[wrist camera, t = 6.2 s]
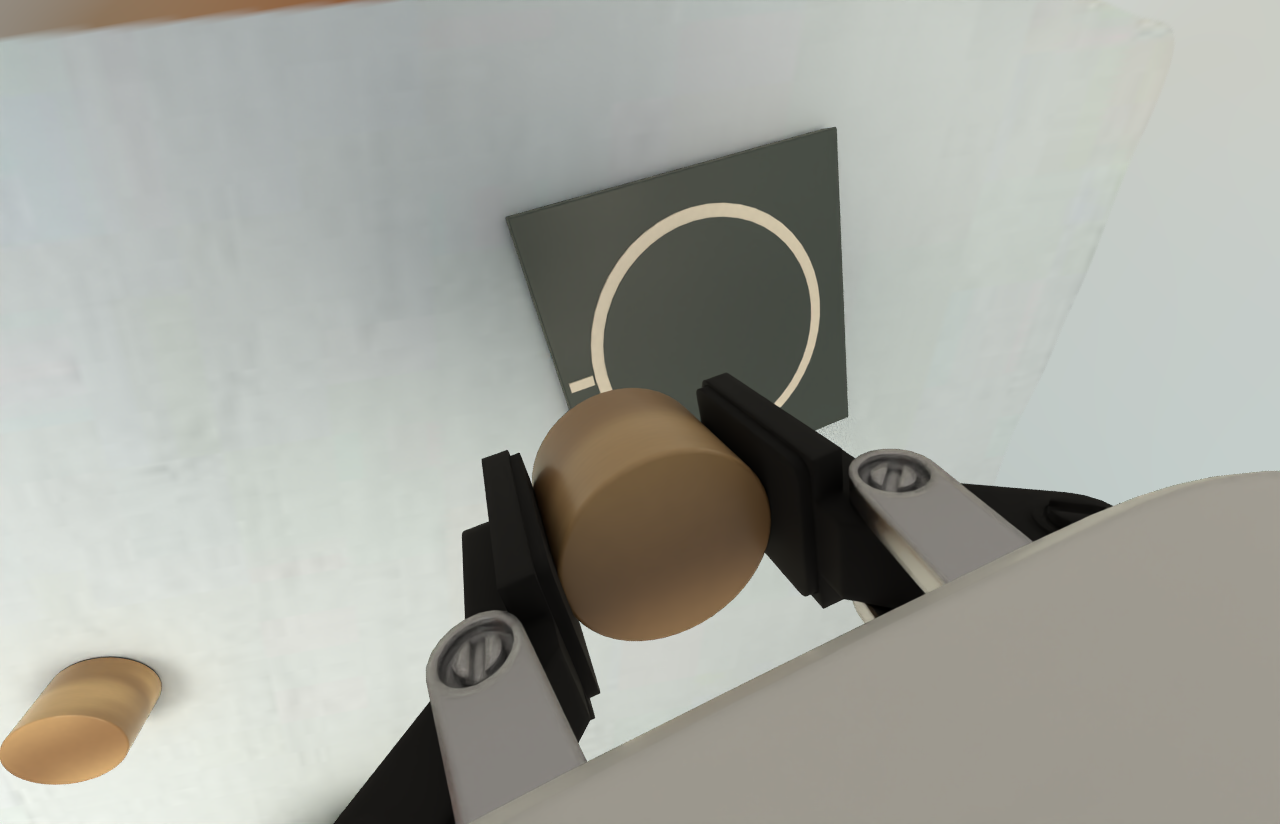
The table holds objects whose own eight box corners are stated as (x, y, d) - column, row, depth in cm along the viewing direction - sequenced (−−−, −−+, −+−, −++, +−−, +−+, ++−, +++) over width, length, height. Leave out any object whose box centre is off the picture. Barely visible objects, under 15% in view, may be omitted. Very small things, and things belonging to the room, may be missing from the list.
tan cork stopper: (24, 682, 23) (-31, 747, 20) (125, 643, 23) (85, 700, 21) (89, 734, 24) (47, 799, 22) (181, 696, 25) (151, 754, 23)
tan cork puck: (505, 424, 10) (524, 505, 8) (687, 361, 11) (761, 415, 8) (561, 570, 12) (592, 676, 9) (714, 507, 13) (781, 588, 10)
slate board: (504, 217, 22) (507, 218, 21) (823, 128, 25) (839, 126, 24) (601, 507, 29) (607, 518, 28) (837, 410, 32) (850, 418, 31)
